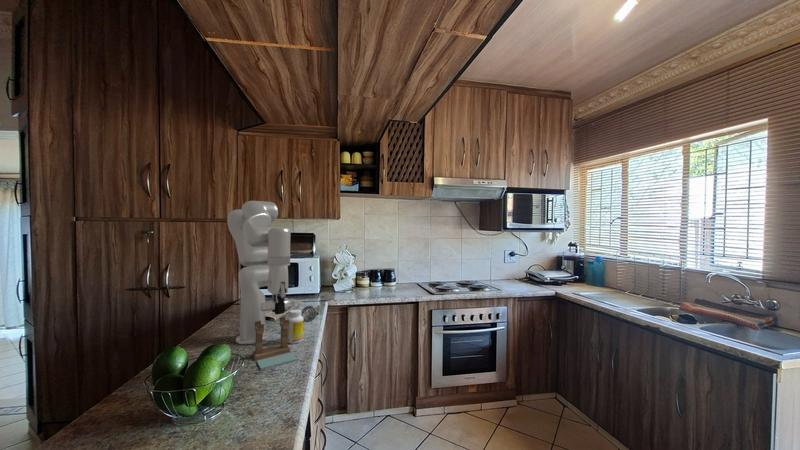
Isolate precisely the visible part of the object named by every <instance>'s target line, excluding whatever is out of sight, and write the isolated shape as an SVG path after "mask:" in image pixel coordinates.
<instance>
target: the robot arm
mask: <svg viewBox="0 0 800 450" xmlns="http://www.w3.org/2000/svg"><path fill="white" fill-rule="evenodd" d="M278 215H279V209H278V205H276V203H275V202H273V201H264V200H263V201H262V200H249V201H246V202H244V203H243V204H242V206H241V209H233V210H231V211H230V212H229V213H228V214H227V219H226V221H227V226H228V230H229V232H230V234H231V236H232V238H233V240H234V242H235V245H236V251H237V252H236V253H237V256H238V261H239V264H241V266H243V268H241V269H240V270H239V272H238V282H239V283H238V284H239V289H240V312H239V313H240V316H239V317H240V318H239V319H240V320H239V321H240V322H239V323H240V324H239V335H237V336H236V337H235V343H237V344H239V345H252V344H254V345H255V340H256V331H255V321H261V324H264V333H263V341H266V340H268V338H269V335H270V334H269V333H268V332H267V331H266V317H265V311H261V303H263V302H266V296H265V294H264V292H263V291H261V289H260V288H263V287H267V292H269V293H270V294H271V295H272V296H271V297H272V299H271V300H272V301H276V303H275V310H272V312H275V314H276V315H277V314H283V313H285V299H286V294H288V292H289V266H291V230H290V228H288V227H284V226H283V227H280V226H270V225H272V223H274V222H275V221H276V220H277V218H278Z"/></svg>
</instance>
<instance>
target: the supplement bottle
mask: <svg viewBox="0 0 800 450" xmlns="http://www.w3.org/2000/svg"><path fill="white" fill-rule="evenodd" d="M288 313H289V316H288V317H287V319H286V320H288V319H289V328H288V336H287V344H293V345H294V344H299V343H301V342H303V340H304V319H303V317H302V316H301V315H302V310H301V309H297V308H295V309H293V310H291V311H290V312H288Z"/></svg>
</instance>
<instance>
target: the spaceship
mask: <svg viewBox="0 0 800 450" xmlns="http://www.w3.org/2000/svg"><path fill="white" fill-rule="evenodd" d="M317 313H322V308H321V305H319V304H318V305H317V306H313V305H312V304H311V305H307V306H305V307H304V308H303V309H302V310H301V316H302V317H303V321H305V322H312V321H314V320H315V319H316V318H317Z"/></svg>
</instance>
